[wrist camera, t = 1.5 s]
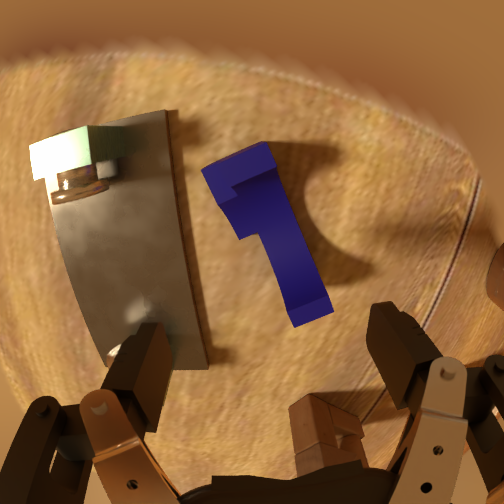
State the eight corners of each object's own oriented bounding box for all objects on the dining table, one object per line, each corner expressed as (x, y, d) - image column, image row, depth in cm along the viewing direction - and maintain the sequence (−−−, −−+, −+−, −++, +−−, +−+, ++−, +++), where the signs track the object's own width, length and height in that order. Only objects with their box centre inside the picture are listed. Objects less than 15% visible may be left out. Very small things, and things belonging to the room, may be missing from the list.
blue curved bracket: (206, 165, 21) (192, 175, 16) (261, 141, 21) (266, 142, 15) (268, 293, 26) (274, 335, 20) (316, 273, 25) (334, 311, 19)
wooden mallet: (308, 391, 31) (337, 533, 14) (359, 416, 33) (393, 526, 17) (286, 407, 32) (303, 542, 15) (339, 429, 34) (365, 537, 18)
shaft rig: (167, 110, 19) (137, 101, 13) (209, 364, 28) (202, 413, 22) (45, 143, 20) (-3, 151, 14) (108, 362, 29) (88, 403, 23)
